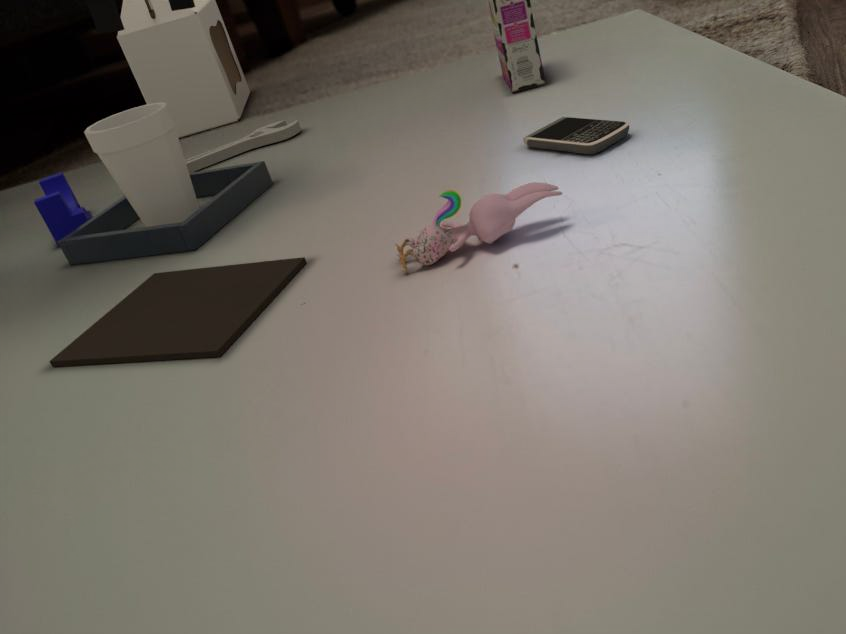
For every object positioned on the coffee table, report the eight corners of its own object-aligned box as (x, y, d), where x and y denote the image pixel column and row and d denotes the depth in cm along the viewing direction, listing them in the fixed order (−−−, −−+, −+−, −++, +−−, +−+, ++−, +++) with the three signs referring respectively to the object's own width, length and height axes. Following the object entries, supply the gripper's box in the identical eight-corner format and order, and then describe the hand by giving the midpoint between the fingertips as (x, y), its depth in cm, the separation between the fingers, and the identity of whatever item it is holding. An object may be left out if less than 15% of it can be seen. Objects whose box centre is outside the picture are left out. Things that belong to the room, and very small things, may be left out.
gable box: (239, 121, 140) (167, -61, 126) (163, 143, 140) (82, -36, 126) (250, 92, 159) (189, -69, 145) (183, 112, 159) (115, -47, 145)
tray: (69, 265, 97) (56, 241, 96) (158, 200, 111) (148, 179, 110) (195, 250, 91) (184, 225, 89) (273, 183, 105) (264, 160, 103)
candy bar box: (548, 84, 112) (522, -48, 104) (512, 94, 113) (483, -37, 104) (535, 67, 122) (510, -55, 114) (502, 76, 122) (474, -45, 114)
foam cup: (163, 211, 106) (115, 111, 100) (226, 200, 103) (181, 96, 97) (122, 245, 99) (67, 139, 92) (189, 234, 96) (137, 124, 89)
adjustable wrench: (134, 196, 117) (128, 184, 116) (132, 186, 122) (126, 174, 121) (303, 134, 122) (299, 122, 121) (294, 126, 127) (289, 115, 127)
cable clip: (94, 234, 105) (71, 189, 102) (58, 247, 104) (33, 202, 101) (94, 209, 115) (73, 168, 112) (62, 221, 114) (39, 179, 111)
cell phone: (595, 158, 85) (593, 144, 84) (521, 149, 93) (518, 136, 92) (635, 134, 87) (633, 121, 87) (560, 128, 95) (557, 115, 95)
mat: (52, 366, 74) (48, 361, 74) (156, 278, 86) (154, 273, 86) (220, 356, 68) (217, 350, 67) (306, 262, 80) (304, 256, 80)
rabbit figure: (413, 295, 71) (575, 219, 70) (382, 235, 68) (550, 155, 67) (408, 266, 77) (558, 195, 76) (378, 209, 74) (534, 135, 73)
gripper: (11, -230, 70) (107, 38, 80) (176, -216, 90) (236, -4, 100) (-59, -211, 72) (44, 47, 82) (118, -202, 92) (182, 4, 103)
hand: (149, 20), depth 91 cm, fingers open, 13 cm apart
